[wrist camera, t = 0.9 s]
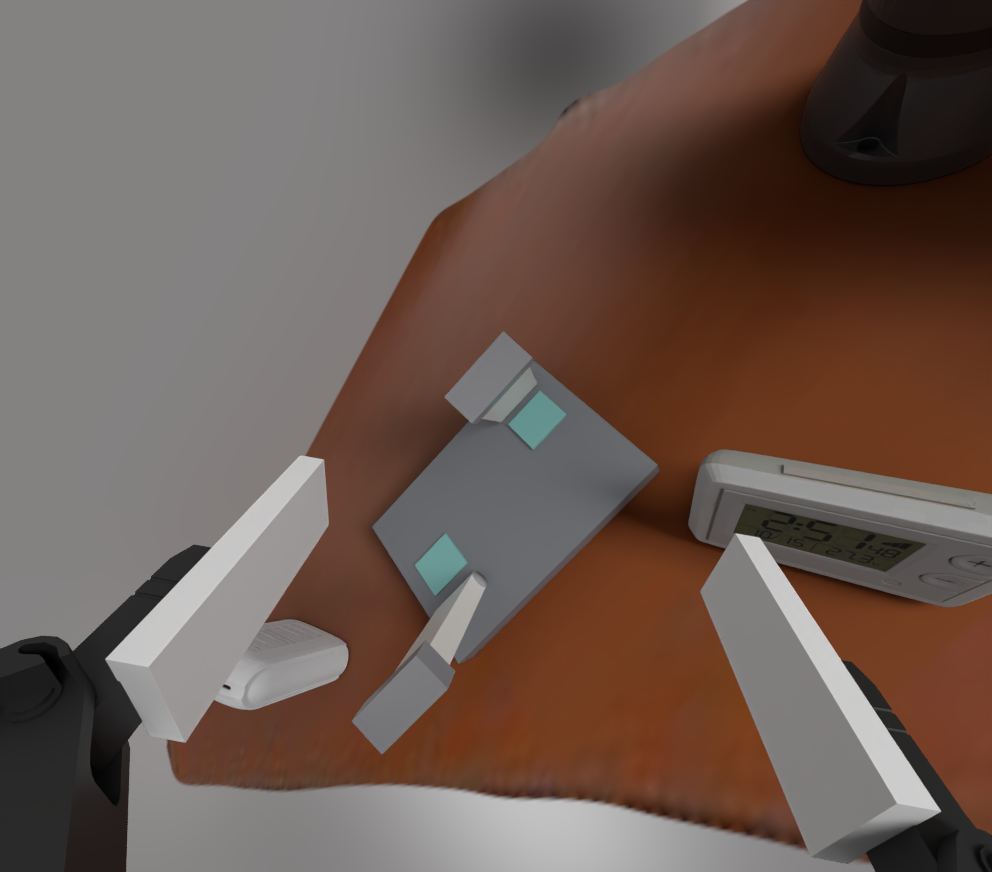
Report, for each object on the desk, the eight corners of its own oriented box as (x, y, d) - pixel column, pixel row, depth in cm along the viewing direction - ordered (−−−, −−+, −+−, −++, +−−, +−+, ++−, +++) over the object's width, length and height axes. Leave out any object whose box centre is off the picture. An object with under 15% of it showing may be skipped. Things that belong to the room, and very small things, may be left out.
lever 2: (541, 385, 39) (532, 357, 24) (503, 426, 40) (471, 423, 25) (523, 368, 39) (503, 331, 25) (485, 409, 40) (444, 397, 25)
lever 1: (492, 584, 36) (448, 688, 21) (451, 625, 37) (381, 754, 22) (473, 565, 36) (416, 655, 22) (433, 606, 37) (351, 721, 22)
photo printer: (280, 651, 47) (160, 682, 37) (290, 613, 48) (176, 632, 37) (344, 684, 43) (228, 729, 32) (354, 641, 44) (245, 671, 33)
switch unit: (659, 471, 35) (657, 464, 32) (474, 656, 38) (456, 664, 35) (538, 367, 43) (527, 354, 40) (390, 528, 45) (370, 526, 42)
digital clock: (676, 530, 34) (673, 522, 24) (721, 432, 34) (734, 388, 25) (932, 650, 26) (1071, 707, 17) (986, 522, 26) (1150, 507, 17)
